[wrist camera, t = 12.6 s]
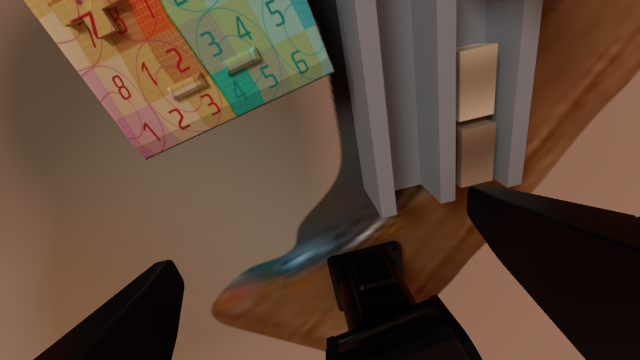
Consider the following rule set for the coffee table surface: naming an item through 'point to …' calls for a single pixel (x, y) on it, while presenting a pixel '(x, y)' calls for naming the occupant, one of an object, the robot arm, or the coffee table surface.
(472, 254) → the coffee table surface
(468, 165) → the offcut dark
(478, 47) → the offcut light
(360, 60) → the rack
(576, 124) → the coffee table surface
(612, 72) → the coffee table surface
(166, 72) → the puzzle game
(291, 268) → the coffee table surface
